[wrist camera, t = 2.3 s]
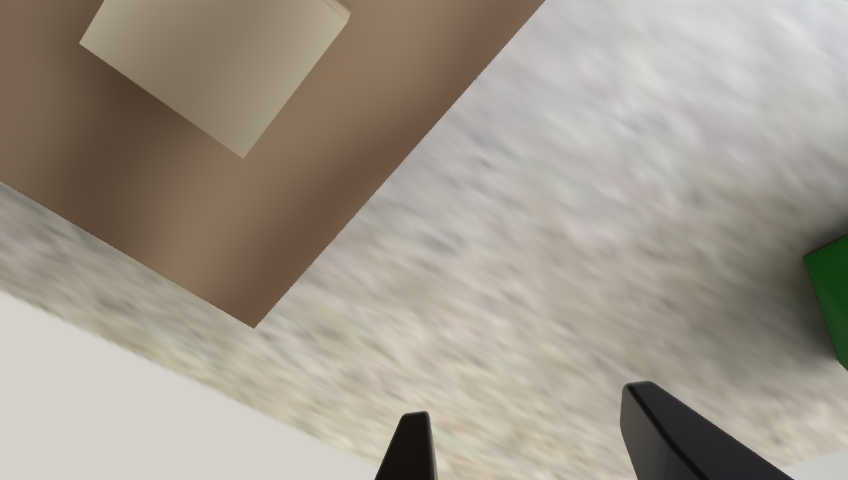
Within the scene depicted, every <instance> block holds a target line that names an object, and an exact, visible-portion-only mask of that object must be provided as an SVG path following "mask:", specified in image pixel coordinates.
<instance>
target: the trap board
mask: <svg viewBox="0 0 848 480" xmlns="http://www.w3.org/2000/svg"><path fill="white" fill-rule="evenodd" d="M350 1H351V2H352V3H353V4H354V6H353V8H352V11H351V14H350V16H349V19H348V22H347V24H346V25H345V26H344V27H343V29H342V30H341V31H340V33H339V34H338V35H337V37H336V38H335V39H334V40H333V42H332V43H331V44H330V46H329V47H328V48H327V50H326V51H325V52H324V54H323V55H322V56H321V57H320V59H319V60H318V61H317V63H316V64H315V65H314V67H313V68H312V69H311V71H310V72H309V73H308V74H307V76H306V77H305V78H304V80H303V81H302V82H301V84H300V85H299V86H298V88H297V89H296V90H295V91H294V93H293V94H292V95H291V97H290V98H289V99H288V101H287V102H286V103H285V105H284V106H283V107H282V108H281V110H280V111H279V112H278V114H277V115H276V116H275V118H274V119H273V120H272V122H271V123H270V124H269V125H268V127H267V128H266V129H265V131H264V132H263V133H262V135H261V136H260V137H259V139H258V140H257V141H256V142H255V144H254V145H253V146H252V148H251V149H250V150H249V152H248V153H247V154H246V156H245V157H244V158H241V157H240V156H238V155H237V154H236V153H234V152H233V151H231V150H230V149H228V148H227V147H226V146H224V145H223V144H221V143H220V142H218V141H217V140H216V139H214V138H213V137H211V136H210V135H209V134H207V133H206V132H204V131H203V130H201V129H200V128H199V127H197V126H196V125H194V124H193V123H192V122H190V121H189V120H187V119H186V118H184V117H183V116H182V115H180V114H179V113H177V112H176V111H174V110H173V109H172V108H170V107H169V106H167V105H166V104H165V103H163V102H162V101H160V100H159V99H157V98H156V97H155V96H153V95H152V94H150V93H149V92H148V91H146V90H145V89H143V88H142V87H140V86H139V85H138V84H136V83H135V82H133V81H132V80H131V79H129V78H128V77H126V76H125V75H123V74H122V73H121V72H119V71H118V70H116V69H115V68H113V67H112V66H111V65H109V64H108V63H106V62H105V61H104V60H102V59H101V58H99V57H98V56H96V55H95V54H94V53H92V52H91V51H89V50H88V49H87V48H85V47H84V46H82V45H81V44H79V43H80V41H81V39H82V37H83V36H84V34H85V32H86V31H87V29H88V27H89V26H90V24H91V22H92V21H93V19H94V17H95V15H96V14H97V12H98V10H99V9H100V7H101V5H102V4H103V2H104V0H0V181H1V182H3V183H5V184H7V185H8V186H10V187H12V188H13V189H15V190H17V191H19V192H20V193H22V194H24V195H25V196H27V197H29V198H31V199H32V200H34V201H36V202H37V203H39V204H41V205H43V206H44V207H46V208H48V209H49V210H51V211H53V212H55V213H56V214H58V215H60V216H61V217H63V218H65V219H67V220H68V221H70V222H72V223H73V224H75V225H77V226H79V227H80V228H82V229H84V230H85V231H87V232H89V233H91V234H92V235H94V236H96V237H97V238H99V239H101V240H103V241H104V242H106V243H108V244H109V245H111V246H113V247H115V248H116V249H118V250H120V251H121V252H123V253H125V254H127V255H128V256H130V257H132V258H133V259H135V260H137V261H139V262H140V263H142V264H144V265H145V266H147V267H149V268H151V269H152V270H154V271H156V272H157V273H159V274H161V275H163V276H164V277H166V278H168V279H169V280H171V281H173V282H175V283H176V284H178V285H180V286H181V287H183V288H185V289H187V290H188V291H190V292H192V293H193V294H195V295H197V296H199V297H200V298H202V299H204V300H205V301H207V302H209V303H211V304H212V305H214V306H216V307H217V308H219V309H221V310H223V311H224V312H226V313H228V314H229V315H231V316H233V317H235V318H236V319H238V320H240V321H241V322H243V323H245V324H247V325H248V326H250V327H252V328H253V329H254V328H255V327H256V326H257V325H258V324H259V322H260V321H261V320H262V319H263V318H264V317H265V316H266V315H267V313H268V312H269V311H270V310H271V309H272V308H273V307H274V305H275V304H276V303H277V302H278V301H279V300H280V299H281V298H282V296H283V295H284V294H285V293H286V292H287V291H288V290H289V289H290V287H291V286H292V285H293V284H294V283H295V282H296V281H297V280H298V278H299V277H300V276H301V275H302V274H303V273H304V272H305V271H306V269H307V268H308V267H309V266H310V265H311V264H312V263H313V262H314V260H315V259H316V258H317V257H318V256H319V255H320V254H321V253H322V251H323V250H324V249H325V248H326V247H327V246H328V245H329V244H330V242H331V241H332V240H333V239H334V238H335V237H336V236H337V234H338V233H339V232H340V231H341V230H342V229H343V228H344V227H345V225H346V224H347V223H348V222H349V221H350V220H351V219H352V218H353V216H354V215H355V214H356V213H357V212H358V211H359V210H360V209H361V207H362V206H363V205H364V204H365V203H366V202H367V201H368V200H369V198H370V197H371V196H372V195H373V194H374V193H375V192H376V191H377V189H378V188H379V187H380V186H381V185H382V184H383V183H384V182H385V180H386V179H387V178H388V177H389V176H390V175H391V174H392V173H393V171H394V170H395V169H396V168H397V167H398V166H399V165H400V163H401V162H402V161H403V160H404V159H405V158H406V157H407V156H408V154H409V153H410V152H411V151H412V150H413V149H414V148H415V147H416V145H417V144H418V143H419V142H420V141H421V140H422V139H423V138H424V136H425V135H426V134H427V133H428V132H429V131H430V130H431V129H432V127H433V126H434V125H435V124H436V123H437V122H438V121H439V120H440V118H441V117H442V116H443V115H444V114H445V113H446V112H447V111H448V109H449V108H450V107H451V106H452V105H453V104H454V103H455V102H456V100H457V99H458V98H459V97H460V96H461V95H462V94H463V92H464V91H465V90H466V89H467V88H468V87H469V86H470V85H471V83H472V82H473V81H474V80H475V79H476V78H477V77H478V76H479V74H480V73H481V72H482V71H483V70H484V69H485V68H486V67H487V65H488V64H489V63H490V62H491V61H492V60H493V59H494V58H495V56H496V55H497V54H498V53H499V52H500V51H501V50H502V49H503V47H504V46H505V45H506V44H507V43H508V42H509V41H510V40H511V38H512V37H513V36H514V35H515V34H516V33H517V32H518V31H519V29H520V28H521V27H522V26H523V25H524V24H525V23H526V21H527V20H528V19H529V18H530V17H531V16H532V15H533V14H534V12H535V11H536V10H537V9H538V8H539V7H540V6H541V5H542V3H543V2H544V1H545V0H350Z"/></svg>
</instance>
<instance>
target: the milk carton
mask: <svg viewBox="0 0 848 480" xmlns="http://www.w3.org/2000/svg"><path fill="white" fill-rule="evenodd" d="M803 259H804V262H805V265H806V268H807V270H808V273H809V276H810V279H811V282H812V285H813V288H814V291H815V294H816V296H817V299H818V302H819V305H820V308H821V311H822V314H823V317H824V319H825V322H826V325H827V328H828V331H829V334H830V337H831V340H832V343H833V345H834V348H835V351H836V354H837V357H838V360H839V362H840V364H841V365H842V366H843V367H844V368H845V369H846V370H847V371H848V235H846V236H844V237H842V238H840V239H838V240H836V241H834V242H832V243H830V244H828V245H826V246H824V247H823V248H821V249H819V250H817V251H815V252H813V253H811V254H809V255H807V256H805V257H803Z"/></svg>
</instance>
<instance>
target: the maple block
mask: <svg viewBox="0 0 848 480" xmlns="http://www.w3.org/2000/svg"><path fill="white" fill-rule="evenodd" d="M353 6H354V4H353V3H352V2H351V1H350V0H104V2H103V4H102V5H101V7H100V9H99V10H98V12H97V14H96V15H95V17H94V19H93V21H92V22H91V24H90V26H89V27H88V29H87V31H86V32H85V34H84V36H83V37H82V39H81V41H80V43H79V44H81V45H82V46H84V47H85V48H87V49H88V50H89V51H91V52H92V53H94V54H95V55H96V56H98V57H99V58H101V59H102V60H104V61H105V62H106V63H108V64H109V65H111V66H112V67H113V68H115V69H116V70H118V71H119V72H121V73H122V74H123V75H125V76H126V77H128V78H129V79H131V80H132V81H133V82H135V83H136V84H138V85H139V86H140V87H142V88H143V89H145V90H146V91H148V92H149V93H150V94H152V95H153V96H155V97H156V98H157V99H159V100H160V101H162V102H163V103H165V104H166V105H167V106H169V107H170V108H172V109H173V110H174V111H176V112H177V113H179V114H180V115H182V116H183V117H184V118H186V119H187V120H189V121H190V122H192V123H193V124H194V125H196V126H197V127H199V128H200V129H201V130H203V131H204V132H206V133H207V134H209V135H210V136H211V137H213V138H214V139H216V140H217V141H218V142H220V143H221V144H223V145H224V146H226V147H227V148H228V149H230V150H231V151H233V152H234V153H236V154H237V155H238V156H240V157H241V158H244V157H245V156H246V154H247V153H248V152H249V150H250V149H251V148H252V146H253V145H254V144H255V142H256V141H257V140H258V139H259V137H260V136H261V135H262V133H263V132H264V131H265V129H266V128H267V127H268V125H269V124H270V123H271V122H272V120H273V119H274V118H275V116H276V115H277V114H278V112H279V111H280V110H281V108H282V107H283V106H284V105H285V103H286V102H287V101H288V99H289V98H290V97H291V95H292V94H293V93H294V91H295V90H296V89H297V88H298V86H299V85H300V84H301V82H302V81H303V80H304V78H305V77H306V76H307V74H308V73H309V72H310V71H311V69H312V68H313V67H314V65H315V64H316V63H317V61H318V60H319V59H320V57H321V56H322V55H323V54H324V52H325V51H326V50H327V48H328V47H329V46H330V44H331V43H332V42H333V40H334V39H335V38H336V37H337V35H338V34H339V33H340V31H341V30H342V29H343V27H344V26H345V25H346V24H347V22H348V19H349V16H350V14H351V11H352V8H353Z"/></svg>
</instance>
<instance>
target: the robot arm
mask: <svg viewBox="0 0 848 480" xmlns="http://www.w3.org/2000/svg"><path fill="white" fill-rule="evenodd" d="M620 427H621V432H622V436H623V439H624V442H625V445H626V447H627V450H628V453H629V456H630V459H631V462H632V464H633V467H634V470H635V473H636V476H637V479H638V480H794V479H792V478H791V477H789V476H788V475H786V474H785V473H784V472H782V471H781V470H779V469H778V468H776V467H775V466H773V465H772V464H771V463H769V462H768V461H766V460H765V459H763V458H762V457H760V456H759V455H758V454H756V453H755V452H753V451H752V450H750V449H749V448H747V447H746V446H745V445H743V444H742V443H740V442H739V441H737V440H736V439H734V438H733V437H732V436H730V435H729V434H727V433H726V432H724V431H723V430H721V429H720V428H719V427H717V426H716V425H714V424H713V423H711V422H710V421H708V420H707V419H706V418H704V417H703V416H701V415H700V414H698V413H697V412H695V411H694V410H693V409H691V408H690V407H688V406H687V405H685V404H684V403H682V402H681V401H680V400H678V399H677V398H675V397H674V396H672V395H671V394H669V393H668V392H667V391H665V390H664V389H662V388H661V387H659V386H658V385H656V384H655V383H653V382H651V381H641V382H634V383H628V384H626V385H625V386H624V387H623V390H622V401H621V414H620ZM375 480H438V476H437V467H436V459H435V451H434V444H433V437H432V430H431V423H430V417H429V414H428V412H426V411H421V412H414V413H407V414H404V415H403V416H402V417H401V419H400V421H399V424H398V426H397V428H396V431H395V433H394V435H393V438H392V440H391V442H390V445H389V447H388V449H387V452H386V454H385V456H384V459H383V461H382V463H381V466H380V468H379V470H378V473H377V475H376V478H375Z"/></svg>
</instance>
